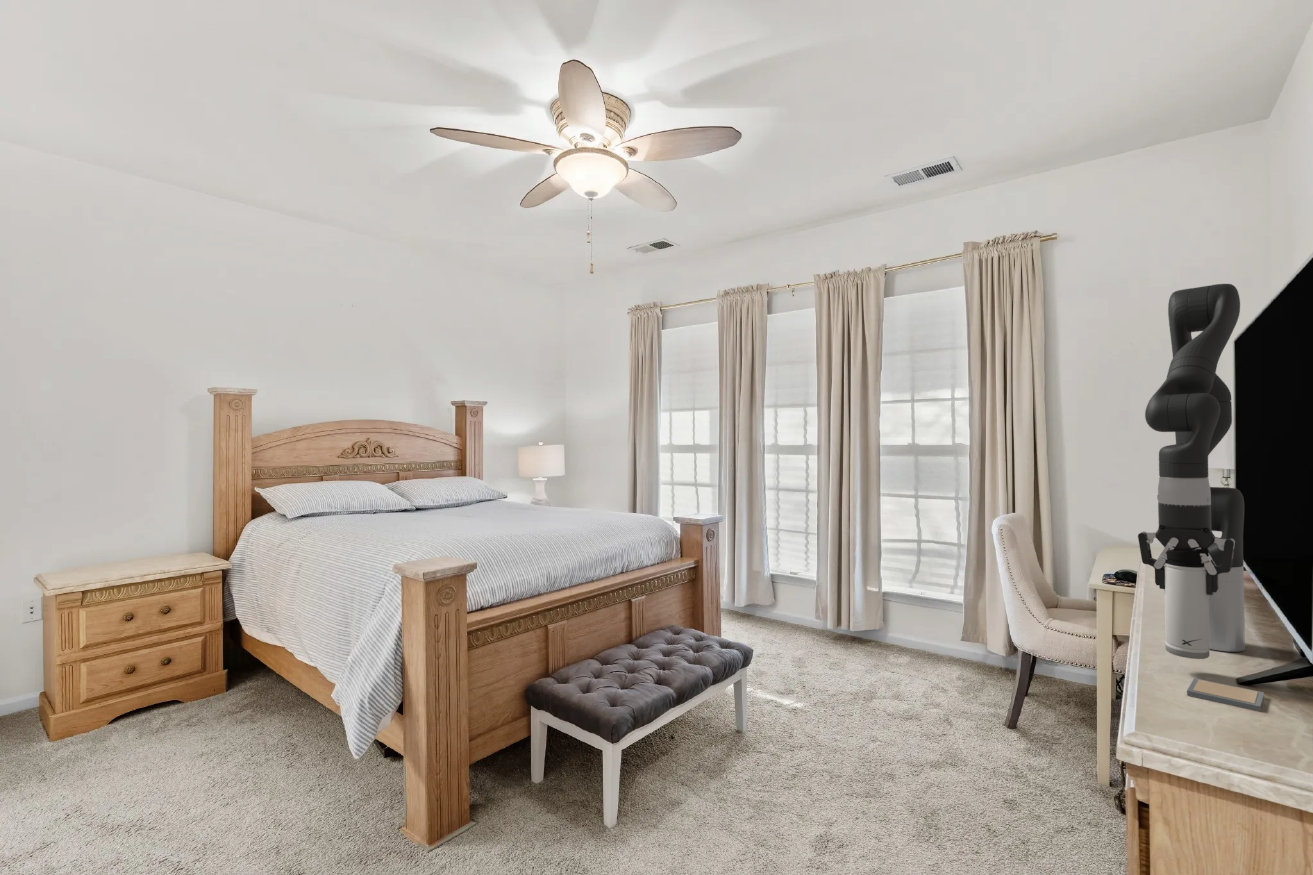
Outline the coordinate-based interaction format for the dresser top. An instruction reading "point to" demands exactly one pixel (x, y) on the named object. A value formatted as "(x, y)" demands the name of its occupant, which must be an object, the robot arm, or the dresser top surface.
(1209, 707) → the dresser top surface
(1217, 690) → the slate coaster
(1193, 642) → the travel mug
